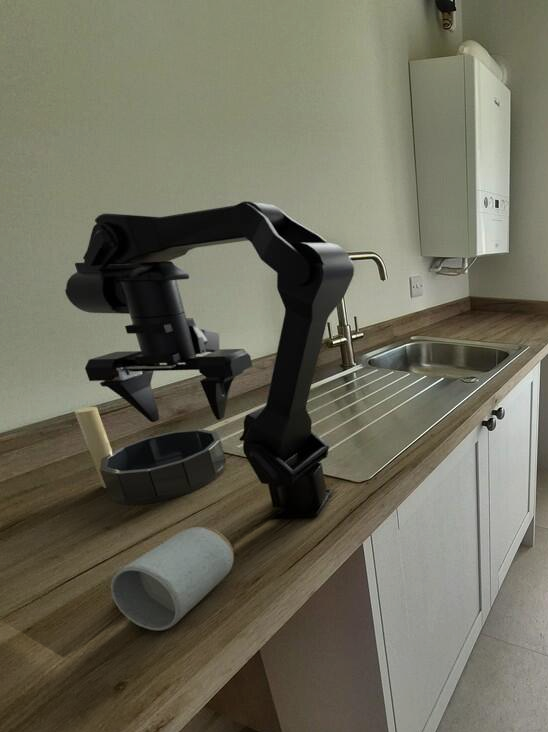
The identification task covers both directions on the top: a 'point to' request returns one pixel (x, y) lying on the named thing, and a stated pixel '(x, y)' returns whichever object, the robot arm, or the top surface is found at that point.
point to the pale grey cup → (172, 577)
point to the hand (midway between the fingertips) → (188, 420)
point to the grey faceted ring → (152, 462)
